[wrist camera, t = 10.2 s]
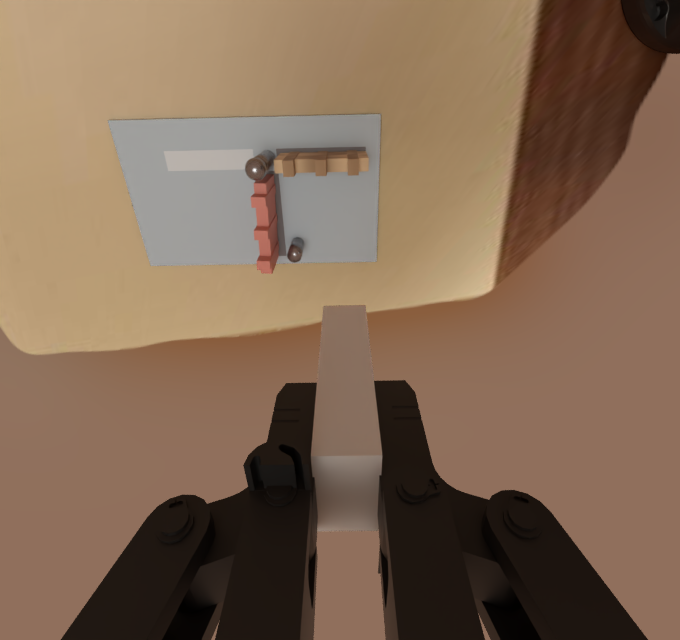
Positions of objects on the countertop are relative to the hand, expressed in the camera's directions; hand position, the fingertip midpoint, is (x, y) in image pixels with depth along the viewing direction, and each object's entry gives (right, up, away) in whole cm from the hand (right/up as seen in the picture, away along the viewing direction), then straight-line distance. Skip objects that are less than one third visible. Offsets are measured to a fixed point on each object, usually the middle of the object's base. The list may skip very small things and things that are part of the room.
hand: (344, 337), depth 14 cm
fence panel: (-8, +12, +30) cm, 33 cm away
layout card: (-10, +15, +29) cm, 34 cm away
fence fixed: (-2, +18, +26) cm, 32 cm away
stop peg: (-5, +10, +31) cm, 33 cm away
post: (-8, +18, +27) cm, 33 cm away
